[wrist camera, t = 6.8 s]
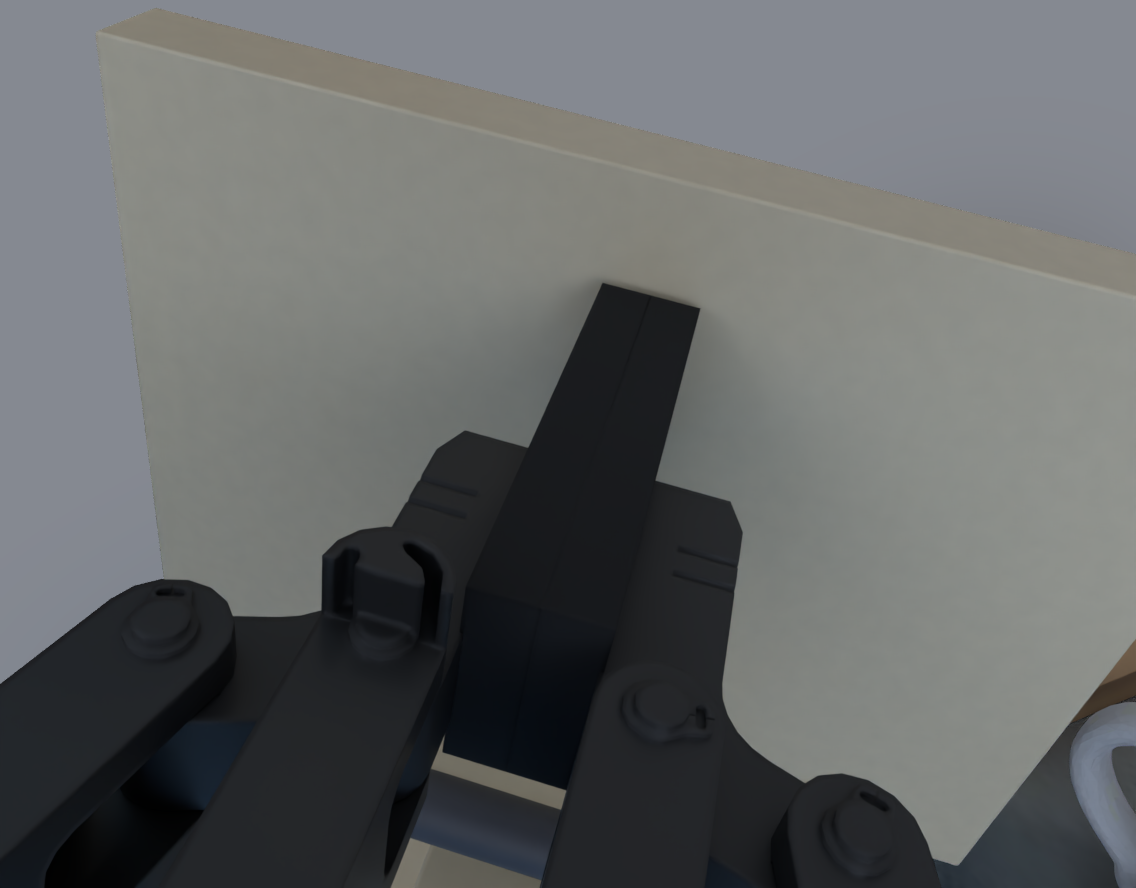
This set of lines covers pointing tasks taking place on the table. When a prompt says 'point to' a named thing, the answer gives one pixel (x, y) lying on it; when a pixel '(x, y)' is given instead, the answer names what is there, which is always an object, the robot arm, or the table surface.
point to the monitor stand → (453, 871)
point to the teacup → (1107, 785)
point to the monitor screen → (702, 411)
